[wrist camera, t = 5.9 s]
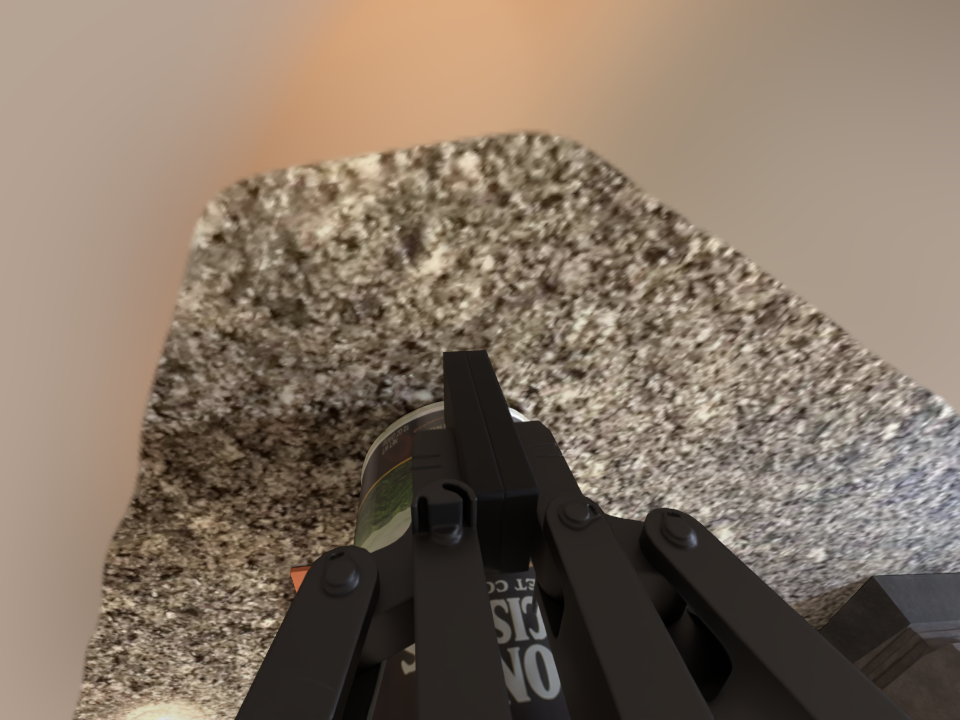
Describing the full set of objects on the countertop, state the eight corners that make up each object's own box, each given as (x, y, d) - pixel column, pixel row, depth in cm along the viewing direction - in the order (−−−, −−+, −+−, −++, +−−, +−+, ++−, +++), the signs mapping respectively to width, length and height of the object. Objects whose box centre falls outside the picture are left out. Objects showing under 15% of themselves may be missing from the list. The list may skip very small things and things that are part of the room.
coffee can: (363, 390, 19) (284, 864, 6) (570, 402, 21) (802, 770, 9) (354, 543, 23) (299, 991, 11) (525, 539, 26) (637, 907, 13)
